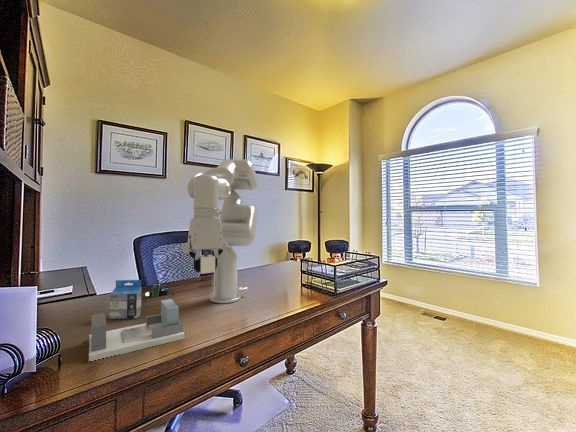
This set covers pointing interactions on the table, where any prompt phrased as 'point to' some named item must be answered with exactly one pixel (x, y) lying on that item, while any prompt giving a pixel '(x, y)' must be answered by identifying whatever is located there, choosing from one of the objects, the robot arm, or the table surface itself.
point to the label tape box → (126, 300)
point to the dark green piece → (160, 290)
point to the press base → (118, 346)
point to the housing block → (207, 263)
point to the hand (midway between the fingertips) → (205, 270)
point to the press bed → (131, 330)
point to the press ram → (169, 312)
